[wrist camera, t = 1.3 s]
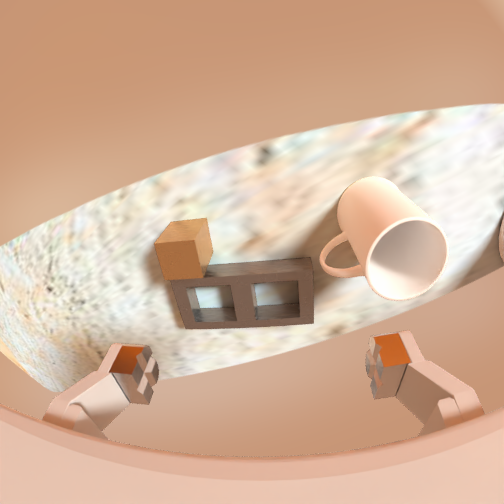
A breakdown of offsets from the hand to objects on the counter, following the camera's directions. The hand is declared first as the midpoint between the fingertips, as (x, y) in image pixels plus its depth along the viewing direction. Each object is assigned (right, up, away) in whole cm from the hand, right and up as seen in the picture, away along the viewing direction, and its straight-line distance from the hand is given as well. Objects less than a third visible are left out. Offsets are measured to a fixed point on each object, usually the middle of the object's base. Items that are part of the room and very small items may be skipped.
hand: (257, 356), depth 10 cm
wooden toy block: (-7, +6, +26) cm, 28 cm away
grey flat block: (-1, -1, +29) cm, 29 cm away
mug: (+12, +8, +24) cm, 28 cm away
